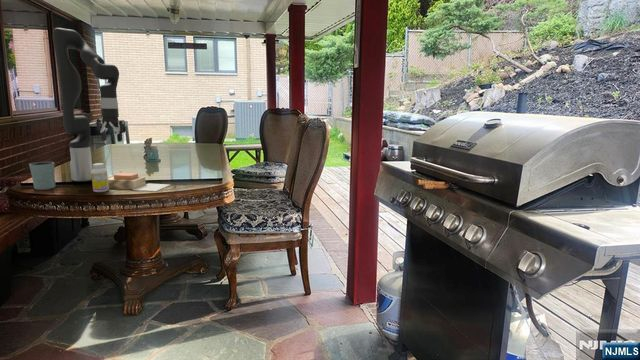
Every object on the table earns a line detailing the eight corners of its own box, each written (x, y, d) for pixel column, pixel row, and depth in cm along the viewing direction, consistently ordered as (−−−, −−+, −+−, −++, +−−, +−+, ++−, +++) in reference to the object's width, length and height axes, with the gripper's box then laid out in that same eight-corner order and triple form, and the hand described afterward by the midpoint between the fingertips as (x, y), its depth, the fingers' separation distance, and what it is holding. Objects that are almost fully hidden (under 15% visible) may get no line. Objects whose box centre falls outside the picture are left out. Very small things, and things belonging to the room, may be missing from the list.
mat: (132, 190, 200) (132, 189, 200) (148, 184, 213) (148, 183, 213) (155, 191, 198) (155, 190, 198) (170, 185, 211) (170, 184, 211)
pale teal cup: (38, 191, 196) (35, 165, 193) (28, 188, 201) (24, 163, 199) (61, 187, 204) (58, 162, 202) (50, 184, 210) (47, 160, 207)
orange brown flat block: (114, 179, 205) (113, 175, 204) (121, 176, 210) (121, 172, 210) (130, 180, 203) (130, 175, 203) (138, 177, 209) (137, 173, 209)
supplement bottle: (96, 189, 201) (94, 162, 198) (111, 189, 202) (108, 162, 199) (90, 192, 195) (87, 165, 192) (105, 192, 195) (102, 165, 192)
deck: (96, 187, 205) (95, 179, 204) (109, 182, 215) (108, 175, 214) (133, 189, 202) (133, 181, 201) (145, 184, 211) (145, 177, 211)
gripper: (90, 107, 199) (93, 141, 203) (117, 108, 197) (119, 142, 200) (102, 106, 207) (104, 139, 210) (127, 107, 204) (129, 141, 207)
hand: (112, 141), depth 205 cm, fingers open, 8 cm apart
